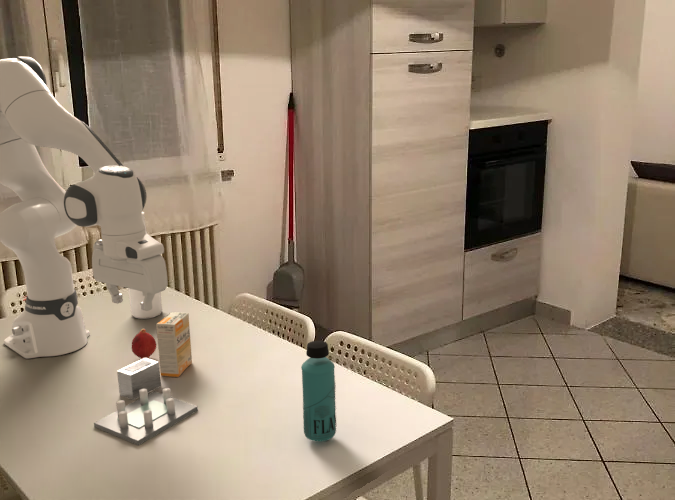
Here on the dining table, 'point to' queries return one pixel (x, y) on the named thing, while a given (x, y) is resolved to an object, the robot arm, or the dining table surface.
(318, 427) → the beverage bottle
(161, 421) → the pin tray
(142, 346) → the onion
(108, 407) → the dining table surface
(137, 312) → the alcohol
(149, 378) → the block
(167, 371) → the supplement box
